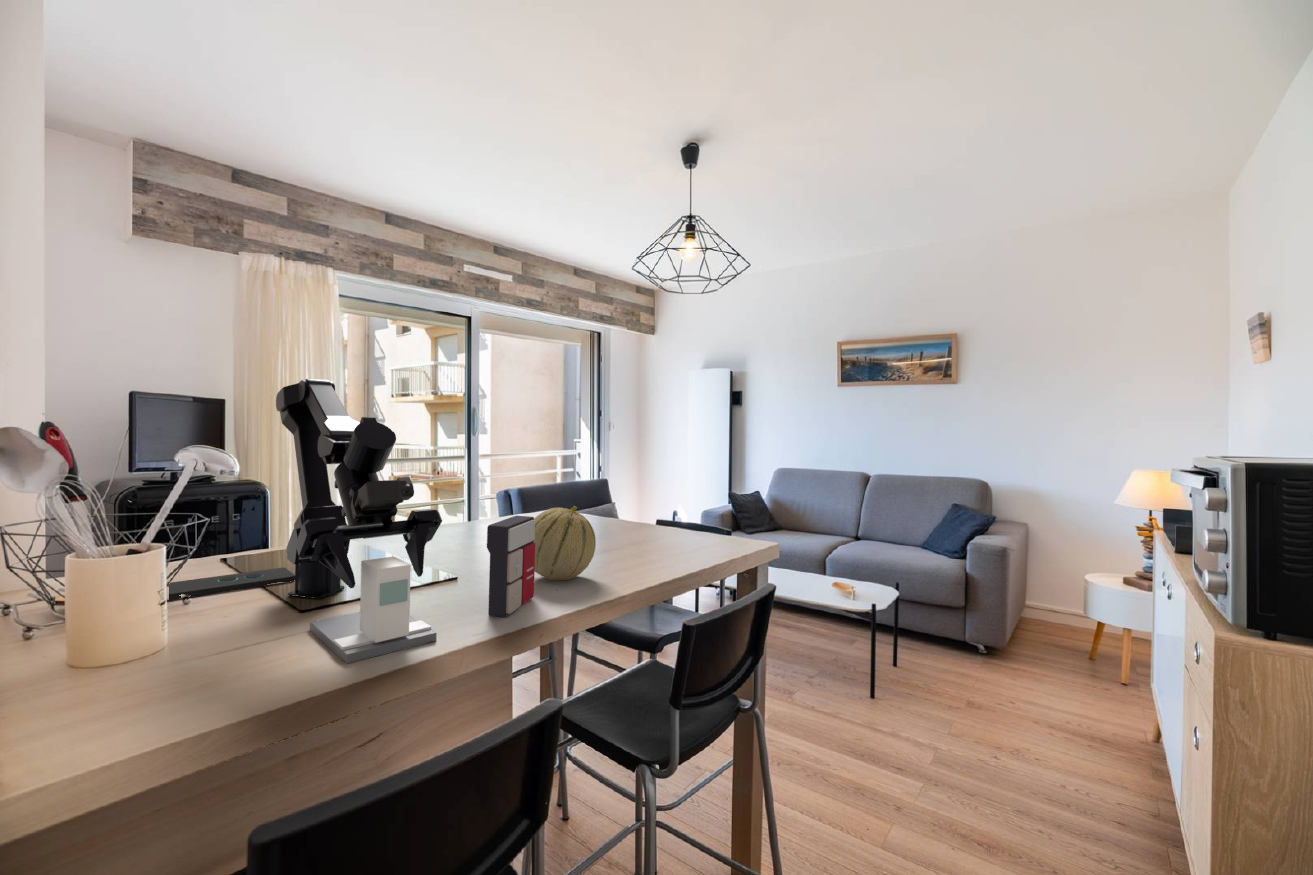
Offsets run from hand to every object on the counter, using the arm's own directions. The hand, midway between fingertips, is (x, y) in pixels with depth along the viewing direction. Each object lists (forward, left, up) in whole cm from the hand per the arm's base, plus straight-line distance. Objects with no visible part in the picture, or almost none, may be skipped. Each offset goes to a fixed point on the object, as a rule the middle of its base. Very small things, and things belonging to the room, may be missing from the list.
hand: (388, 580), depth 81 cm
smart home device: (-44, +18, -10) cm, 48 cm away
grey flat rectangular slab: (-4, +3, -9) cm, 11 cm away
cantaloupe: (+12, +39, -9) cm, 42 cm away
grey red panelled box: (+10, +20, -9) cm, 24 cm away
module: (-1, +1, -8) cm, 8 cm away
